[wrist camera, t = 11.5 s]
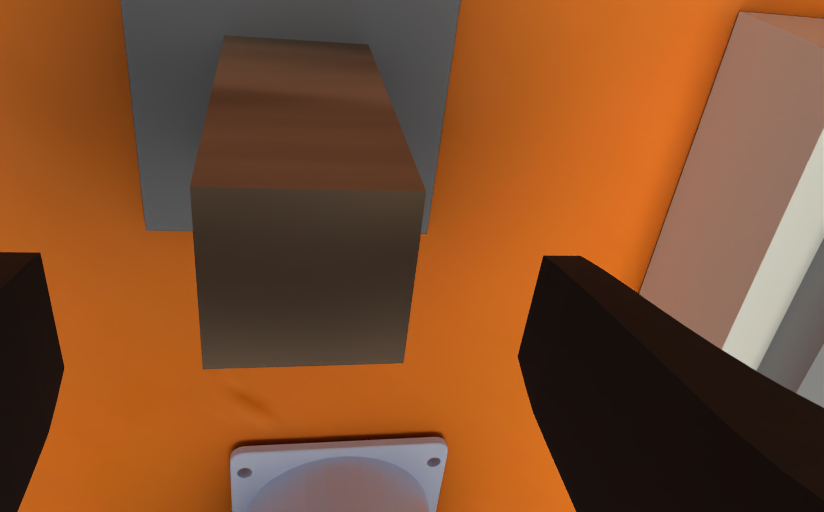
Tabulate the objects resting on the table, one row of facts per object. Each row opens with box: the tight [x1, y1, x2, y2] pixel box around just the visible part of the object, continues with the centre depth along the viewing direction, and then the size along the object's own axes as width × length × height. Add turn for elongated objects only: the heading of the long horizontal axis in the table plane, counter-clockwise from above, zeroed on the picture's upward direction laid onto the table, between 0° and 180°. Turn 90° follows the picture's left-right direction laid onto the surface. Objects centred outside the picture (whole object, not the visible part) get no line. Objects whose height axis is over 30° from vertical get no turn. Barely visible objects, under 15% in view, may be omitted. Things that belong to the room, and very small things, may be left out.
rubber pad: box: [120, 0, 461, 234], centre depth 18 cm, size 8×8×1 cm
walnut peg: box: [190, 35, 426, 369], centre depth 14 cm, size 4×4×8 cm
